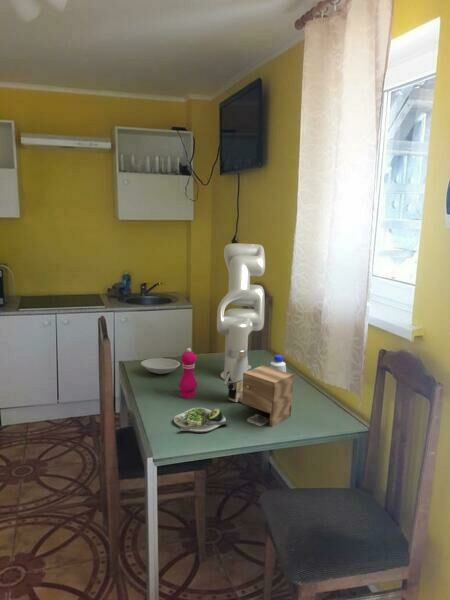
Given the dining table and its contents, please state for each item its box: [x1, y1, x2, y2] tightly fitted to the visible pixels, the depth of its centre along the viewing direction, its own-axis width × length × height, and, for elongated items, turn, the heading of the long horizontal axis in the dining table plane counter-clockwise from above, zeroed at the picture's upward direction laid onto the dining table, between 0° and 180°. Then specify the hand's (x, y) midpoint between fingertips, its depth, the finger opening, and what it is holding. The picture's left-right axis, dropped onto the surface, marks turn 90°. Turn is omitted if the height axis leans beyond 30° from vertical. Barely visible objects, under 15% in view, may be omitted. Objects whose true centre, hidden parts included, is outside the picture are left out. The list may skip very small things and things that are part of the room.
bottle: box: [269, 354, 287, 372], centre depth 197 cm, size 7×7×20 cm
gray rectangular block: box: [246, 413, 270, 427], centre depth 182 cm, size 6×6×2 cm
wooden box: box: [241, 364, 295, 427], centre depth 185 cm, size 13×14×16 cm
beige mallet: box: [228, 380, 243, 403], centre depth 193 cm, size 4×23×8 cm, turn 50°
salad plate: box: [173, 407, 231, 433], centre depth 178 cm, size 19×18×5 cm
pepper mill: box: [178, 347, 198, 399], centre depth 201 cm, size 7×7×20 cm
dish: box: [140, 357, 181, 375], centre depth 226 cm, size 18×14×5 cm
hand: (235, 396), depth 200 cm, fingers closed on beige mallet, 4 cm apart
